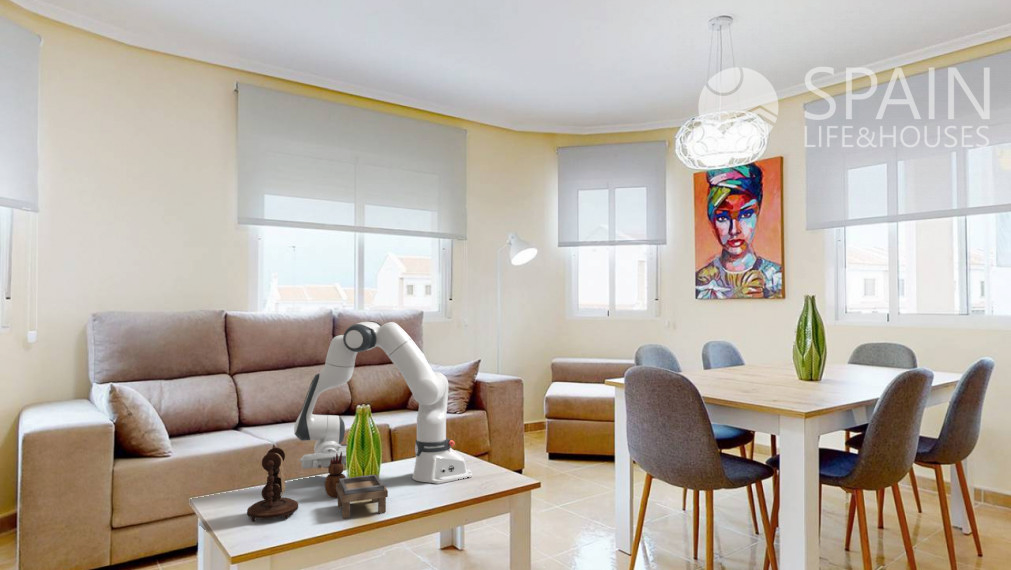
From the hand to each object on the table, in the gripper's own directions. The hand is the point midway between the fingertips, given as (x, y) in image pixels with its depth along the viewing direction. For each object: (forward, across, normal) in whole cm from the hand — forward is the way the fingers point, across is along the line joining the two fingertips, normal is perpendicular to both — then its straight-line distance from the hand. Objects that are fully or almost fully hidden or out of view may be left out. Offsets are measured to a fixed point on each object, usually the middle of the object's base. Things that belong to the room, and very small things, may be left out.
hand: (332, 464), depth 205 cm
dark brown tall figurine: (+19, -20, +9) cm, 29 cm away
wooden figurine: (+9, 0, +9) cm, 13 cm away
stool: (+25, +6, +8) cm, 27 cm away
